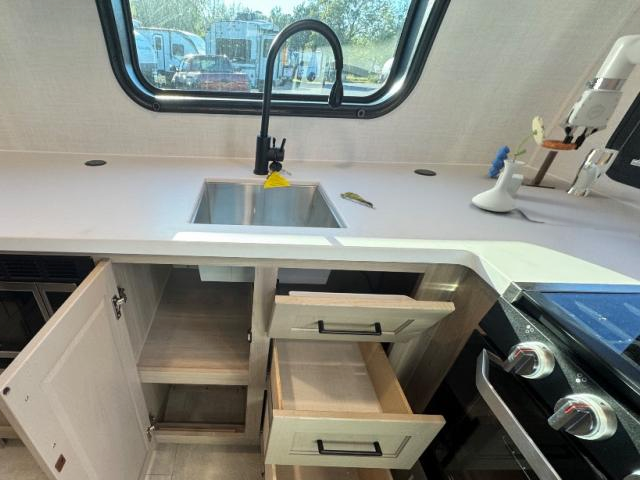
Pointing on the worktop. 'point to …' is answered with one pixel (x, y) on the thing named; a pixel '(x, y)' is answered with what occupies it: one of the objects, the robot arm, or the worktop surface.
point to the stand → (542, 173)
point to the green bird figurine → (356, 198)
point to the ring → (558, 145)
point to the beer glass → (591, 170)
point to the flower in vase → (508, 177)
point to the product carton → (512, 183)
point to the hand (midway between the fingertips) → (569, 148)
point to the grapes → (499, 161)
